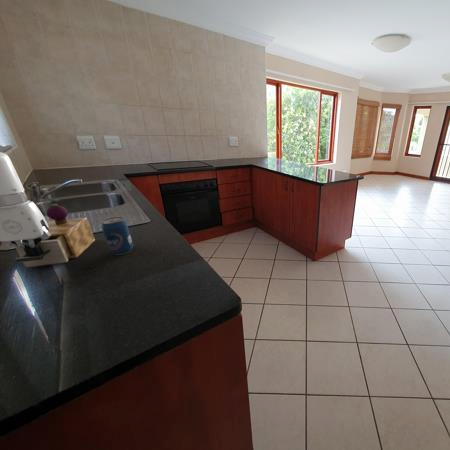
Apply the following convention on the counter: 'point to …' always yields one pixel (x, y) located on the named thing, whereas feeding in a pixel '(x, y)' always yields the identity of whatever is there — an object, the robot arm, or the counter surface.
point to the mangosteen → (57, 213)
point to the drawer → (47, 252)
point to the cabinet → (74, 234)
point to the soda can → (117, 235)
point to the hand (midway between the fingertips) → (37, 257)
